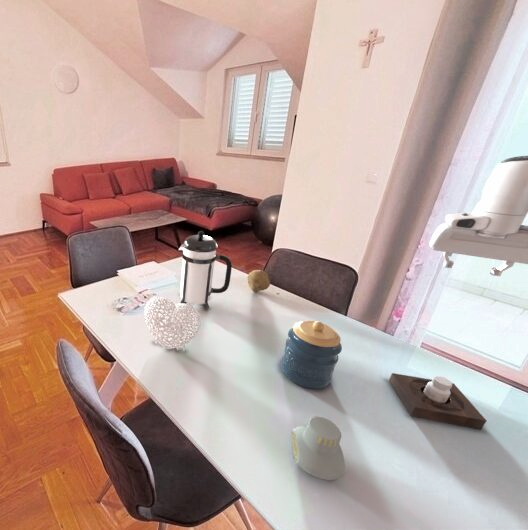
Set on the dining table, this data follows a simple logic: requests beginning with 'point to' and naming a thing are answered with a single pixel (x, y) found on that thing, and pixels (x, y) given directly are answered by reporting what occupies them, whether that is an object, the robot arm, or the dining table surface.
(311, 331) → the canister
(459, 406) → the socket pad
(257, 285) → the natural sponge
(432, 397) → the pill bottle
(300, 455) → the air freshener
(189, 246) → the coffee press
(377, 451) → the dining table surface
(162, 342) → the decorative heart
